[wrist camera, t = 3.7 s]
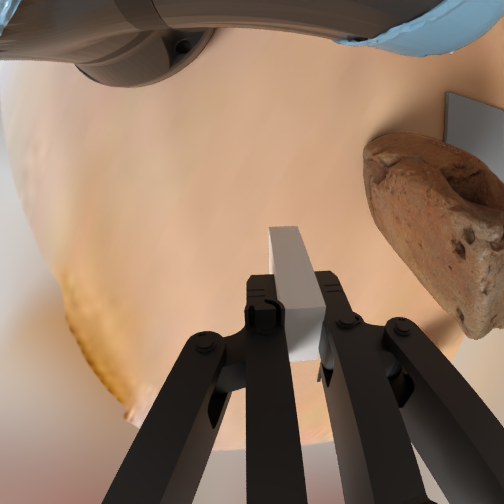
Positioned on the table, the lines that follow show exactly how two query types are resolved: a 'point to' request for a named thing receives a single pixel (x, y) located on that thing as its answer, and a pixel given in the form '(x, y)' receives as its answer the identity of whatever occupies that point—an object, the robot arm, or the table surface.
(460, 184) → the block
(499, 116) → the mat
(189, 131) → the table surface
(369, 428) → the robot arm
